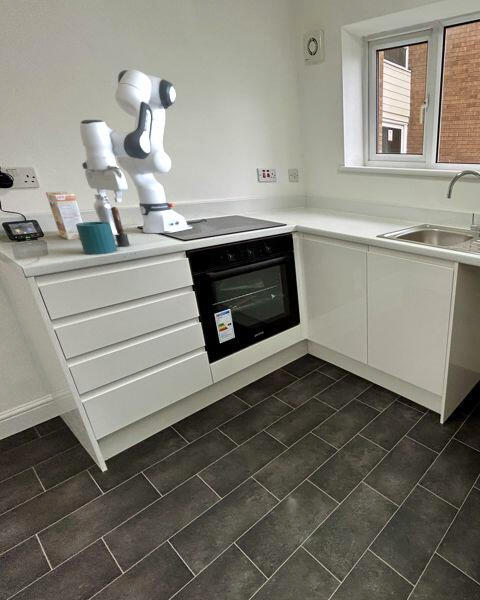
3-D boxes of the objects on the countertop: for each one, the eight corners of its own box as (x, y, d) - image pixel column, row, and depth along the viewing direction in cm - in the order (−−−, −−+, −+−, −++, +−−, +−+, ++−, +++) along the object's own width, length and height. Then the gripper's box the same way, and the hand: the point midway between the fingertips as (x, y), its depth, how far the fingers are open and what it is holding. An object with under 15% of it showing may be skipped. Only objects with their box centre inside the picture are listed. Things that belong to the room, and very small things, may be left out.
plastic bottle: (109, 241, 155) (96, 195, 147) (99, 240, 157) (86, 194, 149) (124, 239, 160) (113, 194, 153) (114, 237, 162) (102, 193, 155)
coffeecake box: (59, 235, 164) (44, 191, 156) (78, 233, 169) (65, 191, 162) (67, 240, 155) (53, 194, 148) (88, 237, 161) (75, 193, 154)
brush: (126, 244, 151) (116, 206, 146) (131, 245, 150) (122, 206, 144) (115, 246, 148) (105, 206, 142) (121, 247, 146) (111, 207, 141)
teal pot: (107, 247, 145) (100, 220, 141) (122, 250, 142) (115, 223, 138) (79, 252, 137) (70, 223, 133) (93, 255, 133) (85, 226, 129)
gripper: (127, 166, 136) (135, 202, 141) (97, 164, 144) (106, 199, 149) (109, 165, 131) (118, 203, 135) (79, 164, 138) (88, 200, 143)
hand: (111, 201), depth 142 cm, fingers open, 8 cm apart
